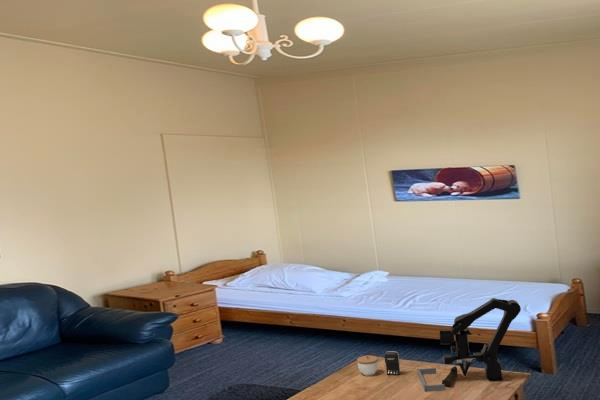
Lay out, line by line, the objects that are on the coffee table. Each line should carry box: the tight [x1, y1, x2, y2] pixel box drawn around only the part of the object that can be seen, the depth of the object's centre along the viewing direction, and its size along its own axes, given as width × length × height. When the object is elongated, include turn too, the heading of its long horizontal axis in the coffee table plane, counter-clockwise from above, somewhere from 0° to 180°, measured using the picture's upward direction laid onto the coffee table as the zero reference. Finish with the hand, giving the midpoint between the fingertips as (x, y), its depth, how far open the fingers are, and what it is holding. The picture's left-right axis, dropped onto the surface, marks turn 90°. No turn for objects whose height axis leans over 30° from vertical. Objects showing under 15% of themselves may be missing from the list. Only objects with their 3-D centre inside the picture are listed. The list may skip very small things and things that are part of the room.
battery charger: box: [384, 350, 401, 376], centre depth 296 cm, size 7×4×11 cm, turn 70°
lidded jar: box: [356, 354, 379, 377], centre depth 300 cm, size 11×11×9 cm
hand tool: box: [441, 365, 459, 388], centre depth 280 cm, size 19×4×5 cm, turn 148°
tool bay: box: [417, 367, 446, 392], centre depth 281 cm, size 9×24×2 cm, turn 177°
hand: (464, 376), depth 280 cm, fingers closed
